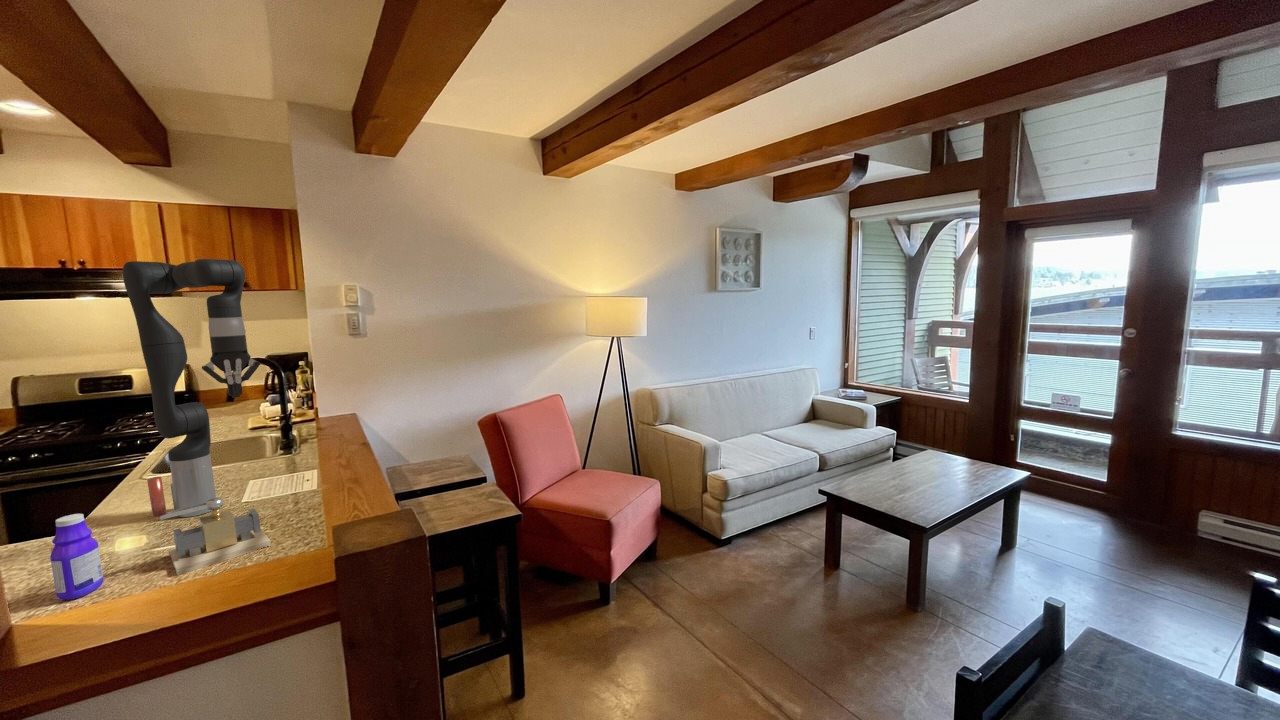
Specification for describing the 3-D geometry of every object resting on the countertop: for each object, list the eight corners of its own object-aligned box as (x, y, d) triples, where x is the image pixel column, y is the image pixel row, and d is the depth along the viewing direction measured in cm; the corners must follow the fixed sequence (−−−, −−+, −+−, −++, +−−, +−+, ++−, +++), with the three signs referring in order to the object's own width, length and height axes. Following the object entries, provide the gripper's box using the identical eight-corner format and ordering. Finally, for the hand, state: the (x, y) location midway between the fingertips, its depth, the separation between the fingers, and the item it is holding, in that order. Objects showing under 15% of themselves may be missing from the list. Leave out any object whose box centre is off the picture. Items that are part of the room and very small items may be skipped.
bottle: (84, 584, 114) (71, 511, 111) (111, 582, 114) (99, 509, 112) (49, 603, 106) (35, 525, 104) (79, 601, 107) (65, 524, 105)
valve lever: (224, 506, 126) (219, 466, 125) (154, 524, 117) (147, 481, 115) (222, 503, 128) (217, 464, 127) (153, 520, 119) (146, 478, 118)
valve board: (177, 575, 116) (176, 569, 116) (169, 555, 125) (169, 550, 125) (270, 545, 129) (270, 540, 129) (258, 529, 139) (257, 524, 139)
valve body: (179, 561, 120) (173, 522, 118) (176, 554, 123) (170, 515, 122) (261, 536, 131) (257, 500, 130) (256, 530, 135) (252, 495, 134)
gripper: (254, 332, 143) (261, 391, 145) (193, 335, 133) (202, 399, 135) (261, 333, 138) (268, 394, 140) (197, 336, 128) (206, 403, 130)
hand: (235, 397), depth 137 cm, fingers closed
